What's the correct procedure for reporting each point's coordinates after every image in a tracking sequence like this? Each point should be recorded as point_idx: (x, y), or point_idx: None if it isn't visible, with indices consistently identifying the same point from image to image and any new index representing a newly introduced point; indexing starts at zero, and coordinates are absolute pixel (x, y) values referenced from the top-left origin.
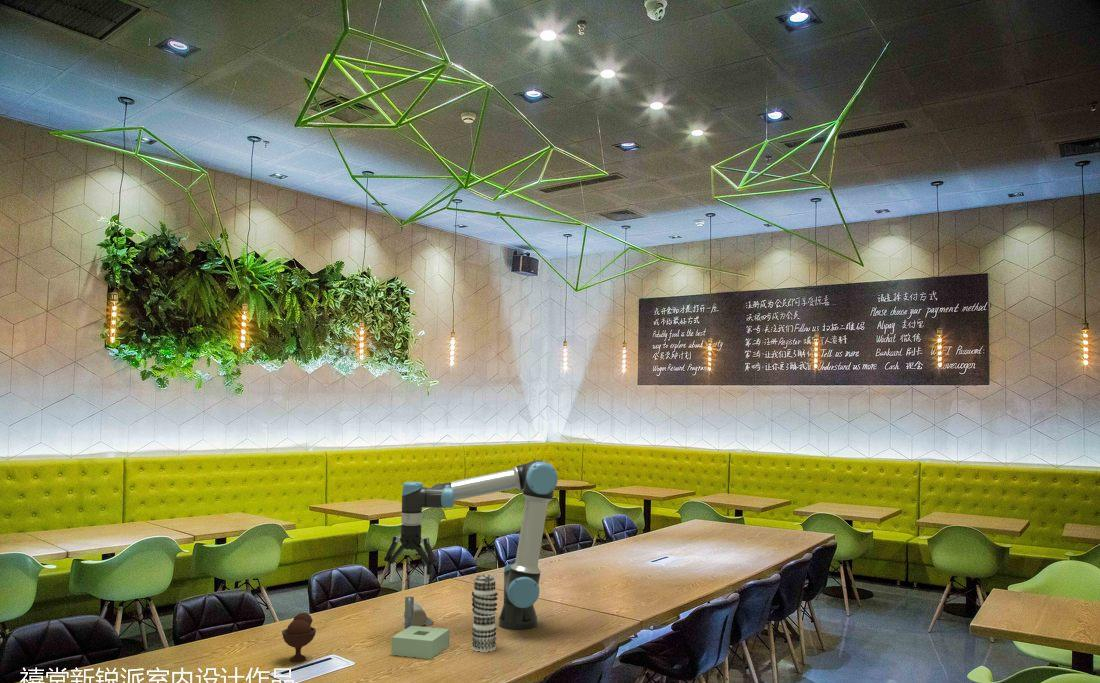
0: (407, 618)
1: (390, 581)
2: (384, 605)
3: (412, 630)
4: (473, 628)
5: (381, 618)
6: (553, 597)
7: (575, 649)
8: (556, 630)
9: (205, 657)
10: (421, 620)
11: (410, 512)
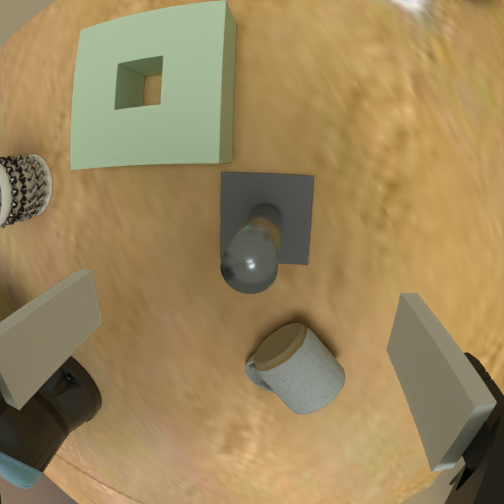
0: (258, 216)
1: (415, 293)
2: (422, 455)
3: (182, 98)
4: (10, 177)
5: None
6: (122, 499)
7: None
8: None
9: None
10: (267, 345)
11: None
